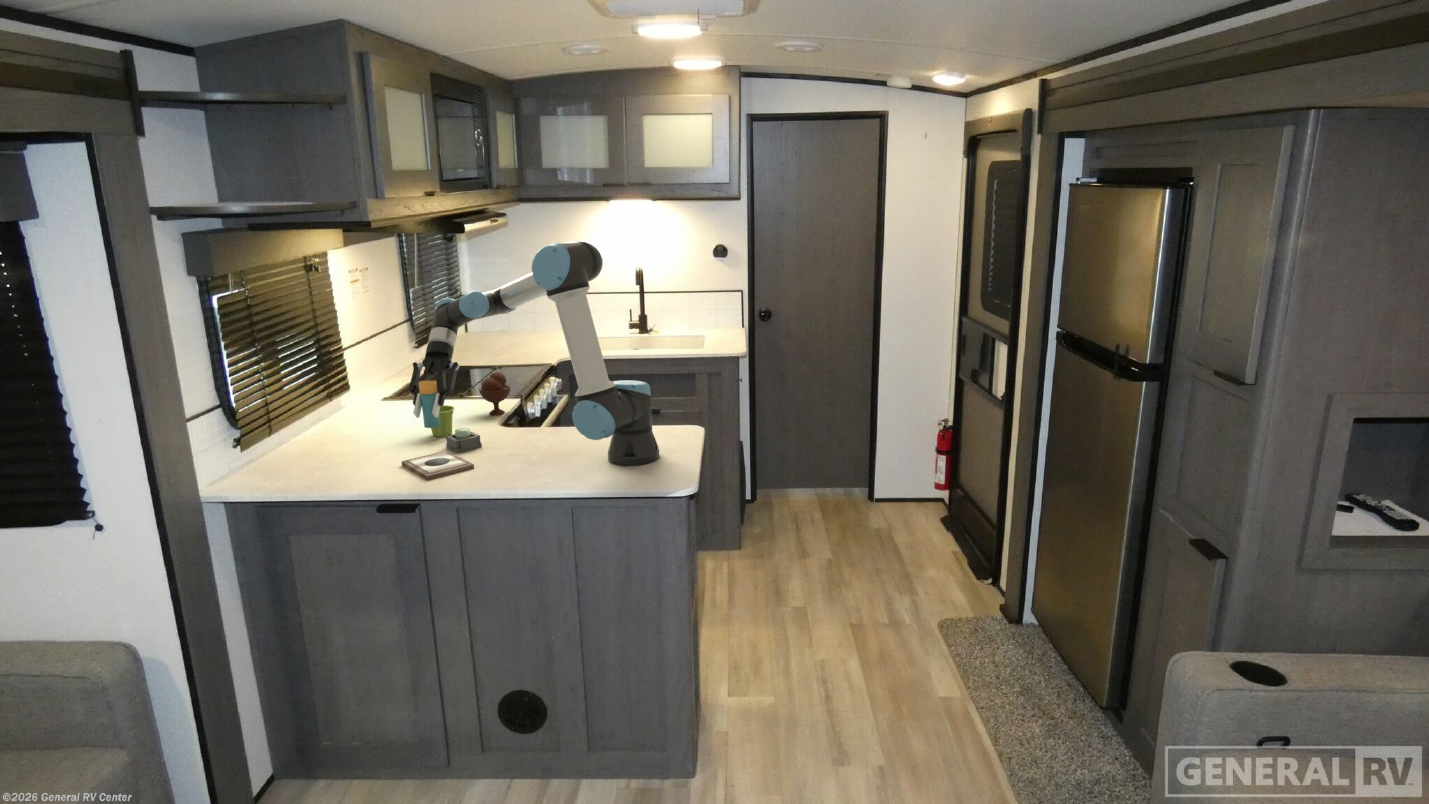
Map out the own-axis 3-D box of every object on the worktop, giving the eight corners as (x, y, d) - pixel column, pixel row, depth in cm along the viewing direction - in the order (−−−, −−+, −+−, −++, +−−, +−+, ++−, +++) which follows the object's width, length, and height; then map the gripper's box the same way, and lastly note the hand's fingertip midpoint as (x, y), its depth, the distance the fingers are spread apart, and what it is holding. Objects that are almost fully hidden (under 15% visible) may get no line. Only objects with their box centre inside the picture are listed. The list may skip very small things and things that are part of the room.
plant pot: (426, 440, 274) (423, 414, 272) (428, 432, 283) (425, 406, 280) (456, 437, 276) (454, 411, 274) (457, 429, 285) (454, 404, 283)
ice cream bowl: (496, 408, 310) (492, 367, 306) (519, 411, 304) (515, 370, 300) (474, 415, 301) (470, 374, 297) (497, 419, 295) (493, 377, 292)
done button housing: (481, 446, 265) (480, 435, 264) (457, 452, 260) (456, 441, 259) (470, 441, 271) (469, 430, 270) (446, 447, 266) (445, 436, 265)
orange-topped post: (443, 425, 245) (439, 381, 242) (427, 429, 242) (422, 384, 238) (436, 422, 248) (431, 379, 245) (420, 425, 245) (415, 382, 242)
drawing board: (474, 468, 246) (473, 463, 246) (427, 480, 237) (426, 475, 237) (447, 454, 259) (446, 449, 259) (401, 465, 250) (401, 460, 250)
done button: (473, 438, 265) (472, 429, 264) (459, 442, 262) (458, 432, 261) (466, 436, 268) (465, 426, 267) (453, 439, 265) (452, 429, 265)
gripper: (474, 352, 255) (460, 421, 243) (416, 353, 256) (399, 421, 244) (466, 338, 248) (452, 408, 237) (406, 339, 249) (389, 409, 238)
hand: (425, 415), depth 240 cm, fingers closed on orange-topped post, 5 cm apart
